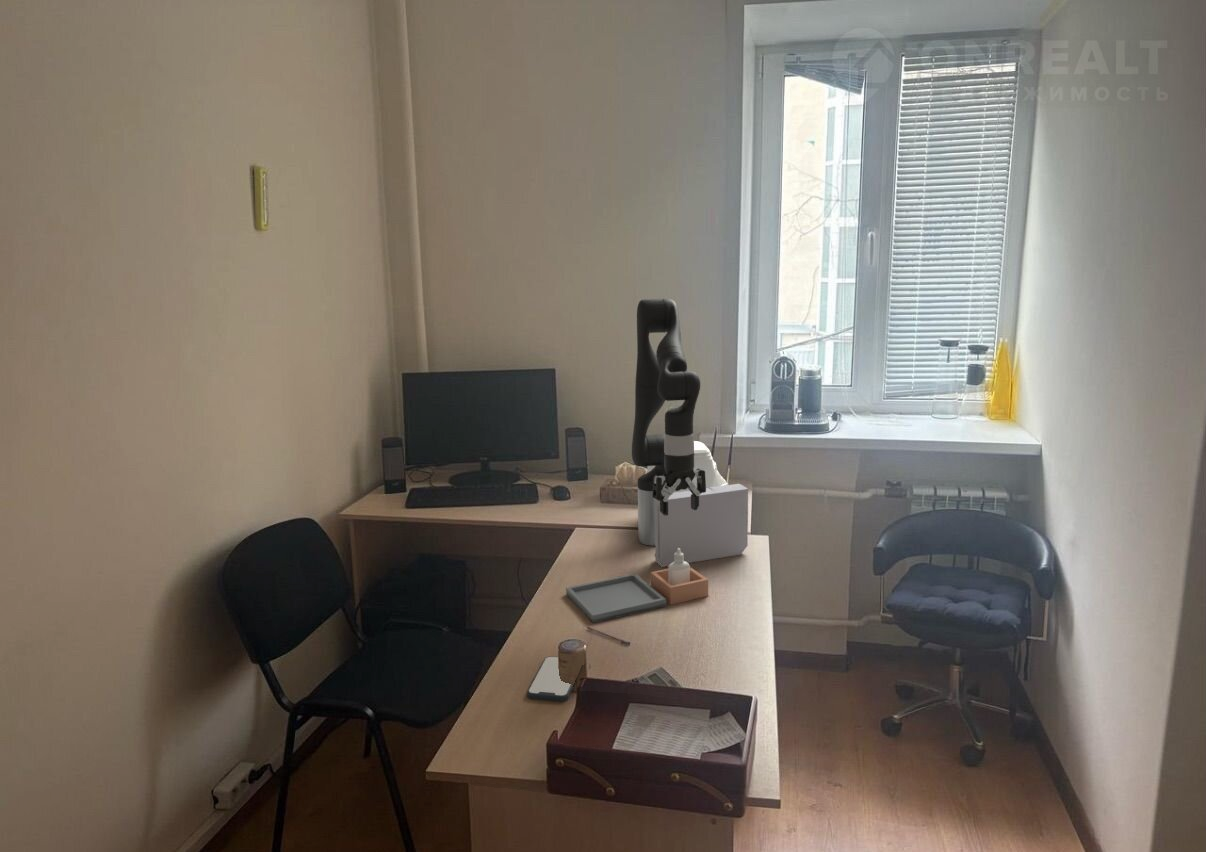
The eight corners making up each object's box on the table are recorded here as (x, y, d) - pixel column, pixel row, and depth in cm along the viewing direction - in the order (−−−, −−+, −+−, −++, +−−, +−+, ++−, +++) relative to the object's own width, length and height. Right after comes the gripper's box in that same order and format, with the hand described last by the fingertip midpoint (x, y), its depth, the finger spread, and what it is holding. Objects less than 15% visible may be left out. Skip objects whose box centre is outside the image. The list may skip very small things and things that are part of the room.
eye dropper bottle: (689, 595, 205) (689, 552, 202) (668, 595, 206) (667, 551, 203) (690, 588, 209) (689, 545, 207) (668, 588, 210) (668, 545, 207)
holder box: (650, 588, 210) (650, 572, 209) (687, 580, 215) (687, 564, 214) (670, 604, 201) (670, 587, 200) (708, 595, 205) (708, 579, 204)
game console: (653, 560, 229) (652, 494, 225) (738, 547, 237) (738, 483, 233) (660, 567, 224) (659, 500, 219) (747, 554, 232) (748, 488, 227)
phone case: (545, 662, 176) (525, 700, 161) (545, 655, 176) (524, 693, 160) (584, 665, 174) (567, 704, 159) (584, 658, 174) (567, 697, 159)
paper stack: (648, 511, 271) (646, 438, 266) (727, 510, 269) (728, 437, 263) (646, 533, 251) (645, 454, 245) (733, 532, 249) (733, 453, 243)
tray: (566, 594, 208) (566, 587, 208) (635, 580, 216) (634, 573, 215) (593, 623, 192) (592, 615, 191) (666, 606, 200) (666, 599, 199)
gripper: (696, 443, 205) (696, 503, 209) (647, 450, 200) (648, 512, 203) (711, 450, 199) (711, 511, 202) (661, 457, 193) (661, 520, 197)
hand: (679, 511), depth 203 cm, fingers open, 8 cm apart
